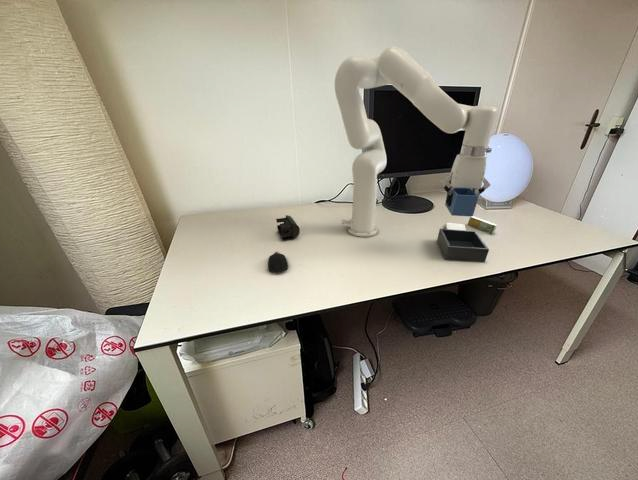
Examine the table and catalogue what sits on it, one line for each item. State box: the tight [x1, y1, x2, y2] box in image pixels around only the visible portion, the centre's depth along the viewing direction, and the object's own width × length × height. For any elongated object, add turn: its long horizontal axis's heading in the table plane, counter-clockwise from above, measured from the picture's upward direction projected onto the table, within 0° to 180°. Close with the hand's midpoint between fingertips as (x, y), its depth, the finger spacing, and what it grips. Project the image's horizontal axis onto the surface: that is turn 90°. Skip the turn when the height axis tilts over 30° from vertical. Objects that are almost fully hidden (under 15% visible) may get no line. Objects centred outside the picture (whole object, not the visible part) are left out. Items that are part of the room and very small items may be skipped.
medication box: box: [467, 215, 498, 235], centre depth 123 cm, size 12×3×4 cm, turn 38°
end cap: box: [275, 214, 301, 242], centre depth 111 cm, size 10×7×7 cm
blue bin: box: [444, 185, 480, 217], centre depth 95 cm, size 7×11×7 cm, turn 175°
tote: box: [436, 228, 490, 263], centre depth 105 cm, size 14×16×5 cm
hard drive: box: [444, 222, 467, 230], centre depth 120 cm, size 2×8×12 cm
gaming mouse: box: [267, 251, 289, 274], centre depth 93 cm, size 6×15×4 cm, turn 16°
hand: (459, 205), depth 96 cm, fingers closed on blue bin, 7 cm apart
